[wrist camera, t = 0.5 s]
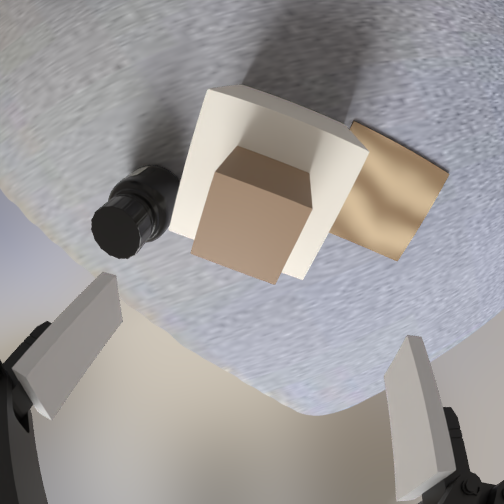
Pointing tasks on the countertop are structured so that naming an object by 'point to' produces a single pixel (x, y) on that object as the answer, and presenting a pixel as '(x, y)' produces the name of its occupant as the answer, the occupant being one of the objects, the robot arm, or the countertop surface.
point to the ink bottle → (136, 211)
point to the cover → (263, 182)
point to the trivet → (388, 196)
